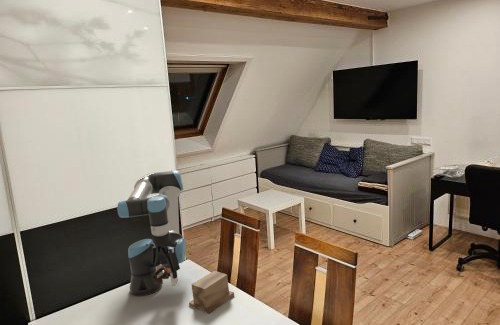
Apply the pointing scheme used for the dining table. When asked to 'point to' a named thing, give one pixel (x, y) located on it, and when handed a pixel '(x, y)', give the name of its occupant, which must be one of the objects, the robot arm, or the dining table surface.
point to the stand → (210, 292)
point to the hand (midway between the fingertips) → (167, 281)
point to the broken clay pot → (164, 276)
